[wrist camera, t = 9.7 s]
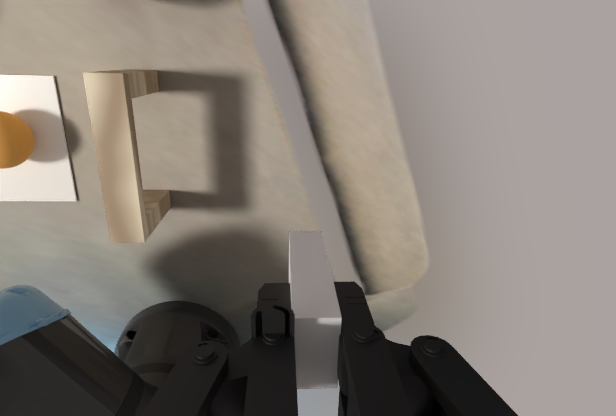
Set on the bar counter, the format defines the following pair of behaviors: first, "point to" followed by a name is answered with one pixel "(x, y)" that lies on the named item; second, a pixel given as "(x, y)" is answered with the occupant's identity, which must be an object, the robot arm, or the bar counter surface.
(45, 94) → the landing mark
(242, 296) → the bar counter surface
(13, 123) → the ball
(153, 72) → the bridge
